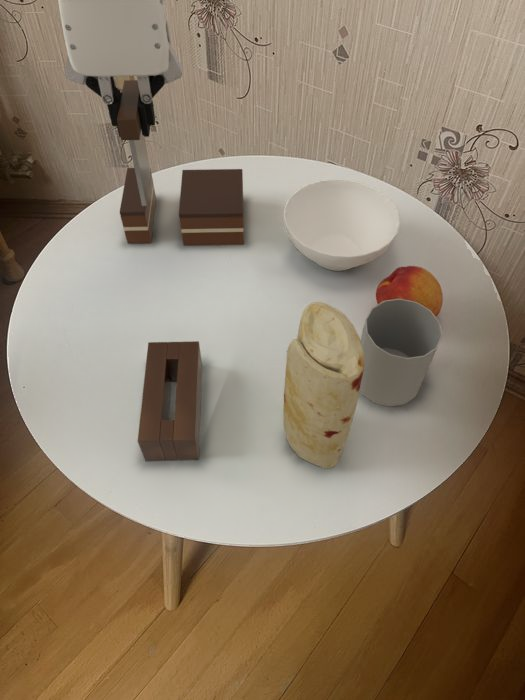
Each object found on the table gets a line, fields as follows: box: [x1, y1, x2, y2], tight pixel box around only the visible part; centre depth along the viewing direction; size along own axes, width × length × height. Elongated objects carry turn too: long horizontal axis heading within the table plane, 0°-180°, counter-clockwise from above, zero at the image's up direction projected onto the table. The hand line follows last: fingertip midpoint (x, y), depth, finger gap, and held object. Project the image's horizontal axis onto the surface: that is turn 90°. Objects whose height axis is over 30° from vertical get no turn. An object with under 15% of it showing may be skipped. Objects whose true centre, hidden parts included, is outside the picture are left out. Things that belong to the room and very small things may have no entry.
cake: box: [178, 168, 245, 246], centre depth 84 cm, size 9×10×6 cm
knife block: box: [137, 340, 203, 462], centre depth 65 cm, size 6×13×5 cm, turn 2°
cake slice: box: [119, 167, 157, 245], centre depth 85 cm, size 4×10×6 cm, turn 2°
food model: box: [282, 301, 364, 469], centre depth 57 cm, size 10×7×20 cm
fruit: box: [375, 265, 444, 318], centre depth 73 cm, size 8×8×8 cm
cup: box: [359, 299, 443, 408], centre depth 66 cm, size 8×8×10 cm
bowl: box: [283, 178, 401, 272], centre depth 80 cm, size 16×16×7 cm
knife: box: [117, 79, 152, 206], centre depth 67 cm, size 2×8×12 cm, turn 3°
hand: (135, 129), depth 65 cm, fingers closed on knife, 2 cm apart
